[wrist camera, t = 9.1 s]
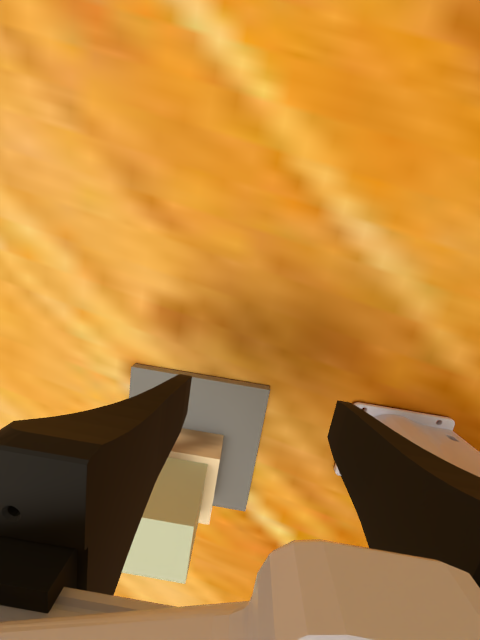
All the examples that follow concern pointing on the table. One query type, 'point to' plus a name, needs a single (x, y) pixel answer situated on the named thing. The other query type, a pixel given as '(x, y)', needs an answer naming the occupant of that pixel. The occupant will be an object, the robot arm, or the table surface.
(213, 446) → the birch plinth
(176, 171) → the table surface
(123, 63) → the table surface
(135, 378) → the gray board
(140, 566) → the sage block
